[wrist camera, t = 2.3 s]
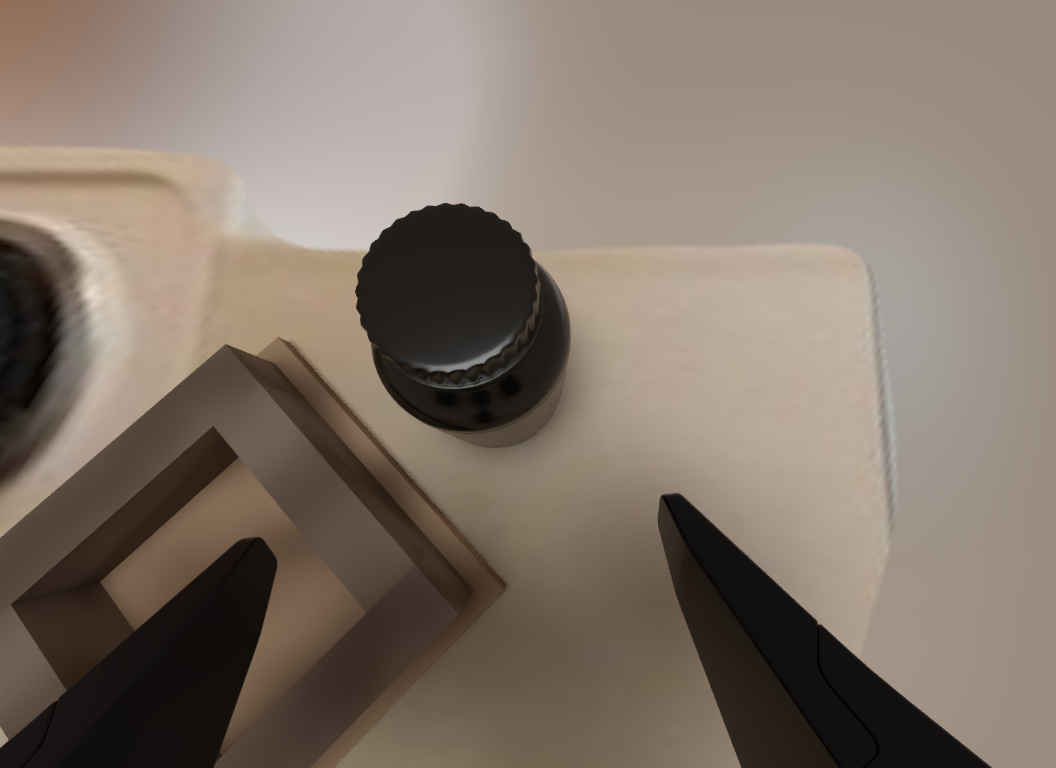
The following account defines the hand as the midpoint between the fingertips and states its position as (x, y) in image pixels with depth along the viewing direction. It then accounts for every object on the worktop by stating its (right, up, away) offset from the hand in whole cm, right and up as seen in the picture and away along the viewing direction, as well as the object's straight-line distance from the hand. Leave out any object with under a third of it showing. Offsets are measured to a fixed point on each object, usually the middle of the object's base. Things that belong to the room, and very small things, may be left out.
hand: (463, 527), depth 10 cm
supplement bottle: (0, +3, +13) cm, 14 cm away
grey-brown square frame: (-12, -6, +11) cm, 18 cm away
